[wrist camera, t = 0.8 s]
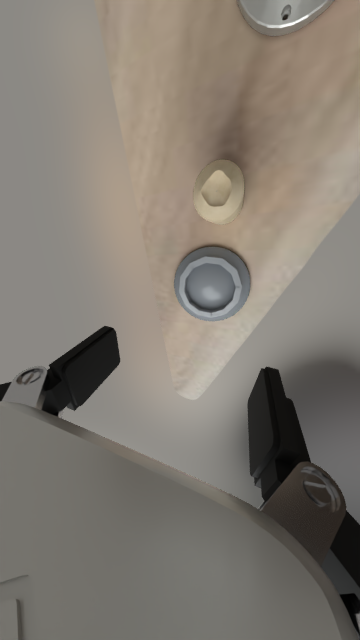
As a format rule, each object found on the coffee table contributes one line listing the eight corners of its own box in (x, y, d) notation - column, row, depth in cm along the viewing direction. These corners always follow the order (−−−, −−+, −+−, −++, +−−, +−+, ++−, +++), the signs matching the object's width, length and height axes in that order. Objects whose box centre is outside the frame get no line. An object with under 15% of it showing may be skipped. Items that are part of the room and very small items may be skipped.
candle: (203, 223, 28) (187, 219, 19) (209, 180, 25) (193, 153, 16) (237, 226, 26) (236, 223, 18) (247, 181, 24) (252, 153, 15)
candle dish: (177, 242, 30) (174, 243, 29) (260, 251, 27) (261, 252, 25) (173, 312, 37) (170, 315, 35) (239, 326, 34) (238, 330, 32)
